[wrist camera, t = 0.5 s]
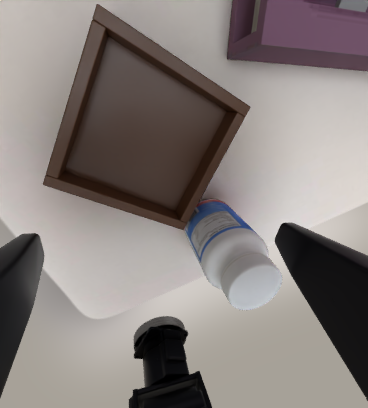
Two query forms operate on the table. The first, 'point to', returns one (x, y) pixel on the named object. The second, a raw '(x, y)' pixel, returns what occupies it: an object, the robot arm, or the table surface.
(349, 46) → the book
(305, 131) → the table surface
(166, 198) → the tray
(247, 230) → the pill bottle
